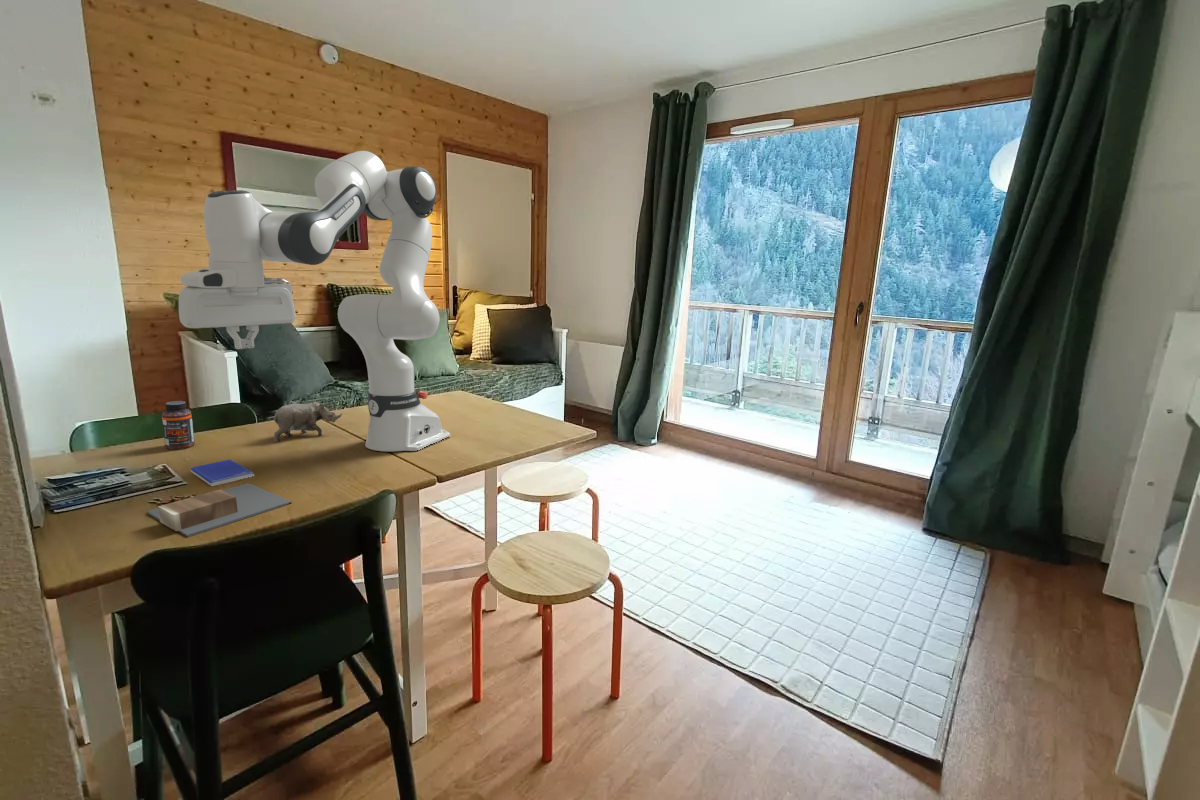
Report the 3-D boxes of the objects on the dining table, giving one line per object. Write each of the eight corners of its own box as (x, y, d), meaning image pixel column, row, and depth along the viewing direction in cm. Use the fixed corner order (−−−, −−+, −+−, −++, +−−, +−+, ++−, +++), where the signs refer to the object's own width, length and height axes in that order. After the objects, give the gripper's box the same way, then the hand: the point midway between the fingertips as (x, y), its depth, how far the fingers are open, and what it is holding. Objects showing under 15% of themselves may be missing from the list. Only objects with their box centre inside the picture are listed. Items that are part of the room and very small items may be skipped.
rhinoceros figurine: (256, 428, 151) (290, 381, 152) (304, 449, 160) (336, 405, 161) (261, 438, 145) (296, 389, 146) (310, 459, 154) (343, 413, 155)
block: (219, 489, 108) (158, 506, 100) (236, 497, 105) (173, 515, 97) (221, 504, 109) (160, 522, 100) (237, 512, 106) (176, 531, 97)
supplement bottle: (166, 451, 137) (160, 406, 135) (164, 445, 142) (158, 401, 139) (196, 447, 141) (190, 403, 139) (194, 441, 145) (188, 398, 143)
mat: (248, 484, 120) (248, 482, 119) (291, 503, 111) (291, 501, 111) (146, 513, 105) (146, 511, 104) (187, 537, 96) (187, 534, 96)
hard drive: (253, 471, 124) (231, 458, 132) (211, 481, 118) (190, 467, 125) (254, 478, 125) (232, 465, 132) (212, 488, 118) (191, 474, 126)
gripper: (282, 277, 120) (287, 342, 123) (170, 276, 103) (179, 351, 106) (299, 278, 117) (304, 345, 120) (186, 277, 100) (195, 355, 103)
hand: (244, 348), depth 113 cm, fingers closed
